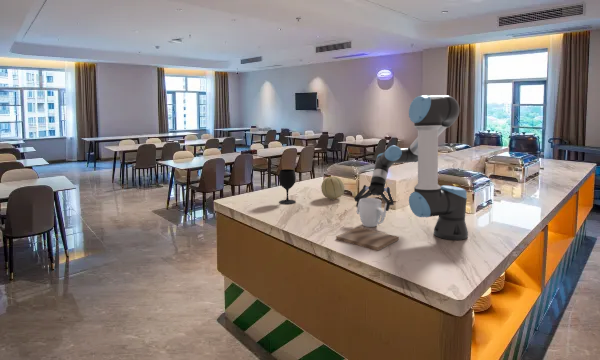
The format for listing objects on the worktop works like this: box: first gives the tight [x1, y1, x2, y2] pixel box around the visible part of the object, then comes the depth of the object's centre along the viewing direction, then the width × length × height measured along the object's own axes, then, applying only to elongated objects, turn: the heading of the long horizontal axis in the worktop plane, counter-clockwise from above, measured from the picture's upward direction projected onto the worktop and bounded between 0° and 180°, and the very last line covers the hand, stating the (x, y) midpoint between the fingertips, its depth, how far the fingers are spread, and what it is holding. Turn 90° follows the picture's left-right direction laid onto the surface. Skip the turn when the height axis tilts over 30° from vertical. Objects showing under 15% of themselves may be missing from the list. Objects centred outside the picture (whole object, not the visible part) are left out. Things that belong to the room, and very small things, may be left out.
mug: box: [359, 197, 385, 228], centre depth 212 cm, size 15×11×13 cm
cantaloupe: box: [320, 175, 345, 200], centre depth 268 cm, size 15×15×15 cm
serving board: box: [335, 227, 400, 251], centre depth 194 cm, size 22×18×2 cm
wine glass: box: [278, 168, 297, 205], centre depth 260 cm, size 10×10×20 cm
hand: (370, 214), depth 213 cm, fingers open, 13 cm apart
